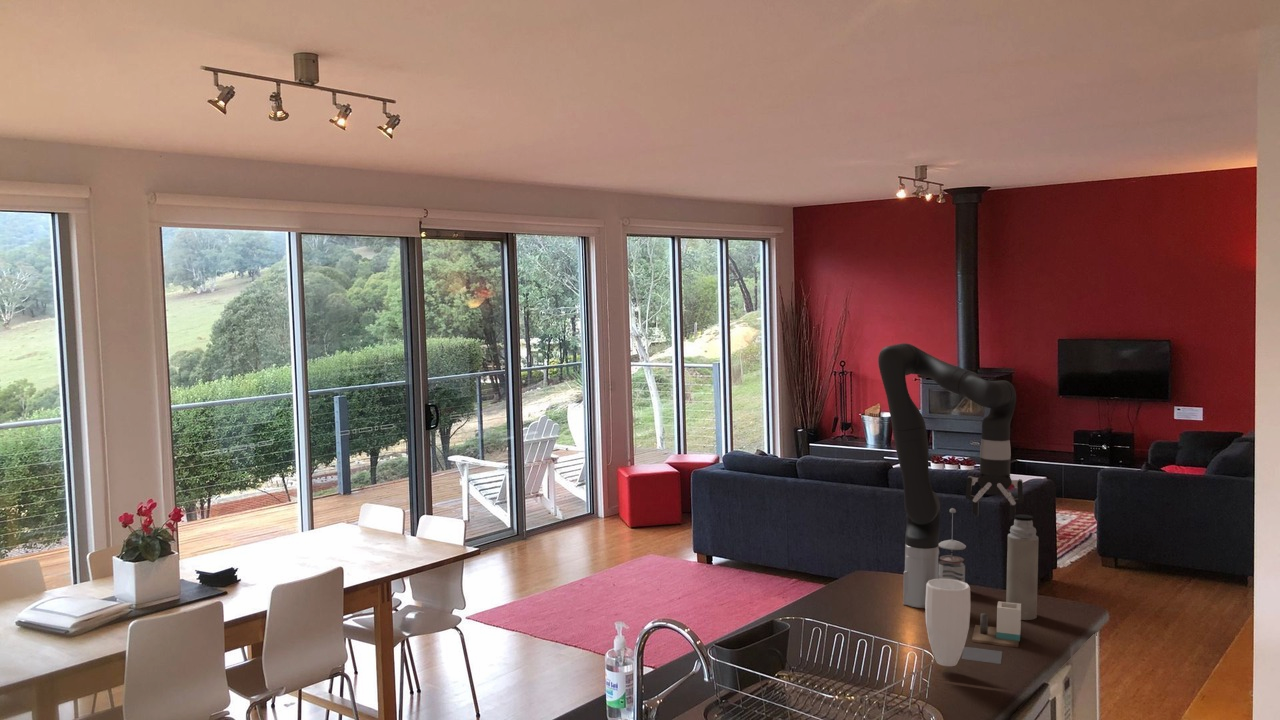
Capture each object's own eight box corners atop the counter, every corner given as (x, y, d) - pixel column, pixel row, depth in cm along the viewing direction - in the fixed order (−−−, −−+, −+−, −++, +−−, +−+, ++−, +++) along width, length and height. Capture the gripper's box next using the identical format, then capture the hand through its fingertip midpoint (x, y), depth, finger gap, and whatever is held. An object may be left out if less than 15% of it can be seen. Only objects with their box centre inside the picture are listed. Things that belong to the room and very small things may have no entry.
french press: (970, 596, 291) (972, 512, 289) (929, 593, 293) (930, 510, 291) (966, 586, 300) (967, 505, 299) (926, 584, 303) (928, 504, 301)
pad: (961, 661, 239) (961, 658, 239) (964, 648, 247) (964, 646, 247) (1000, 666, 235) (1000, 663, 235) (1002, 653, 243) (1002, 651, 243)
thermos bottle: (1002, 610, 277) (1004, 512, 276) (1031, 611, 277) (1034, 512, 275) (1010, 619, 269) (1012, 518, 268) (1040, 620, 269) (1042, 519, 267)
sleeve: (996, 638, 251) (997, 607, 251) (997, 631, 256) (998, 601, 256) (1019, 641, 249) (1020, 610, 249) (1020, 634, 254) (1021, 603, 254)
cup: (933, 663, 237) (935, 575, 236) (976, 673, 231) (978, 583, 229) (915, 676, 229) (917, 585, 228) (959, 687, 223) (961, 593, 221)
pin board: (971, 643, 250) (972, 620, 250) (975, 629, 262) (975, 606, 261) (1018, 649, 246) (1018, 625, 246) (1019, 634, 257) (1020, 611, 257)
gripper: (965, 456, 258) (964, 517, 259) (1023, 460, 253) (1022, 522, 254) (967, 452, 265) (966, 512, 266) (1024, 455, 260) (1023, 516, 261)
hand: (993, 517), depth 260 cm, fingers open, 8 cm apart
